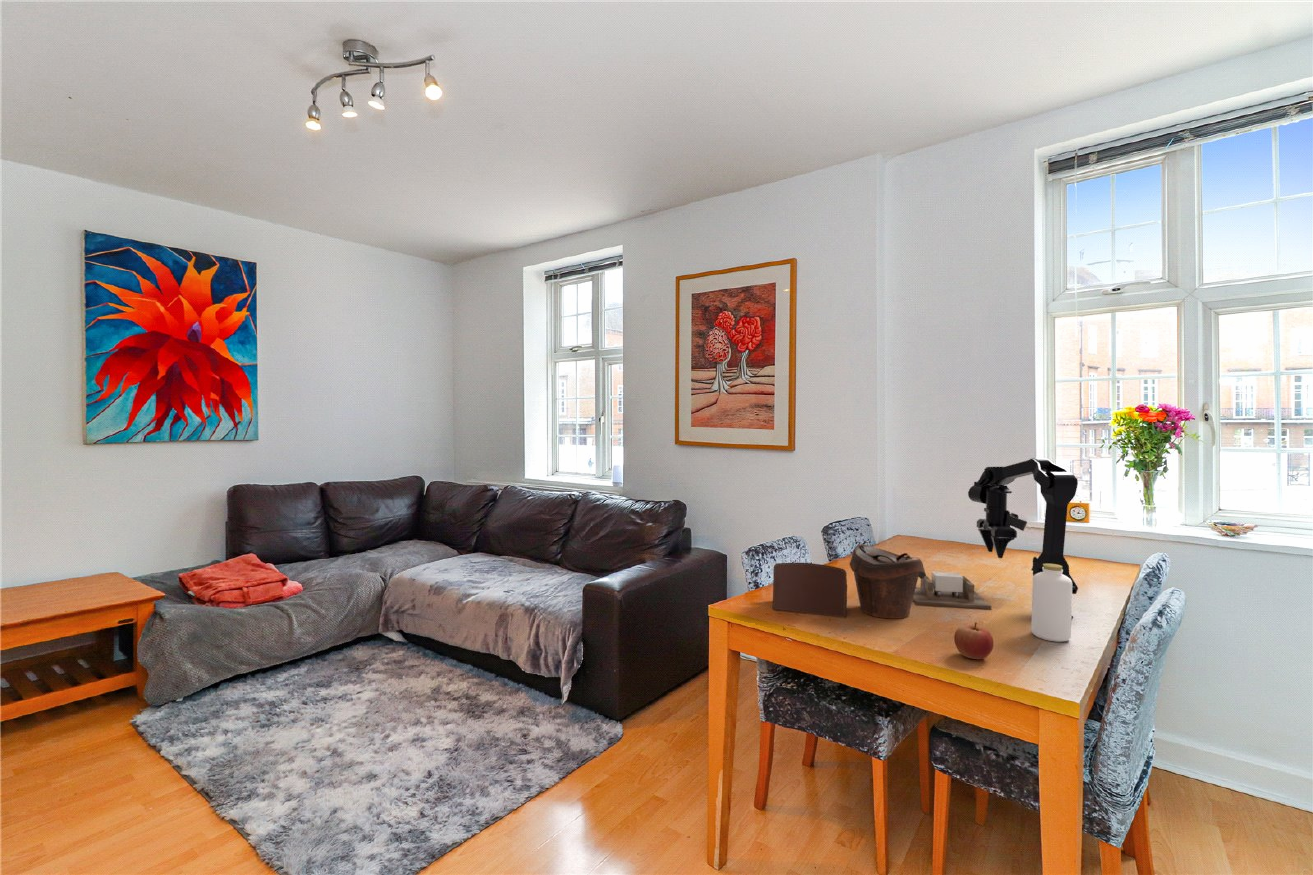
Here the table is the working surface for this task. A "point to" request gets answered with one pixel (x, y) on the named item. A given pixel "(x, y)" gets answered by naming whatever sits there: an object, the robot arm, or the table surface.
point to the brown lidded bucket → (885, 581)
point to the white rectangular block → (947, 581)
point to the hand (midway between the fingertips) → (995, 554)
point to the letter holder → (810, 589)
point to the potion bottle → (1051, 604)
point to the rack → (949, 596)
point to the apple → (973, 641)
